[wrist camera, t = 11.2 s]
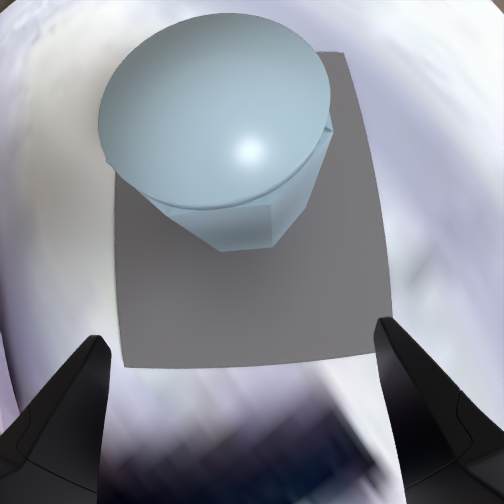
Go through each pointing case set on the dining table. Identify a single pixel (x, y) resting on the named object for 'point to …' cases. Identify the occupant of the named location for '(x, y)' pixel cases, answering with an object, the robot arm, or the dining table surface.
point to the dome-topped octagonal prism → (220, 126)
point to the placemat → (261, 269)
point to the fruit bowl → (6, 394)
